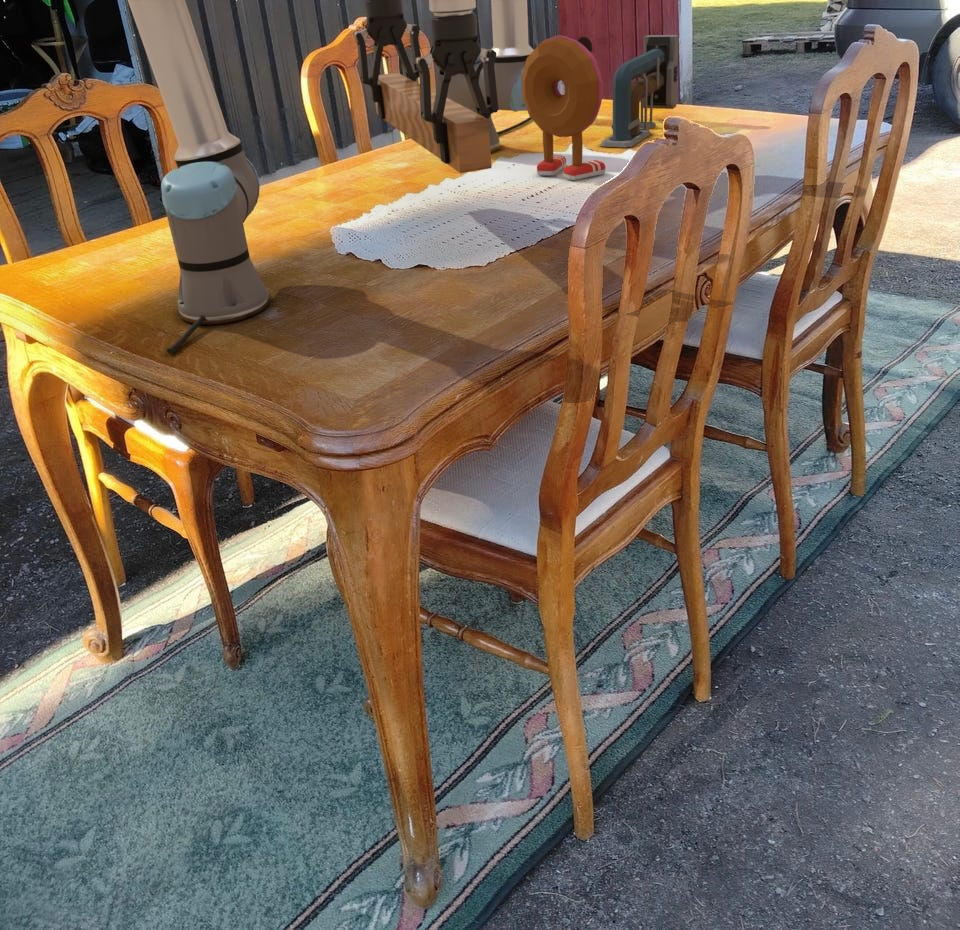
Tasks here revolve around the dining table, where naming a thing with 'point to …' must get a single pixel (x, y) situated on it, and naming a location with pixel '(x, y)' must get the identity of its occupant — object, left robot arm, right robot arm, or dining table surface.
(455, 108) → the post
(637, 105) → the dark grey bent pipe
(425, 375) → the dining table surface
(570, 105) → the toy
